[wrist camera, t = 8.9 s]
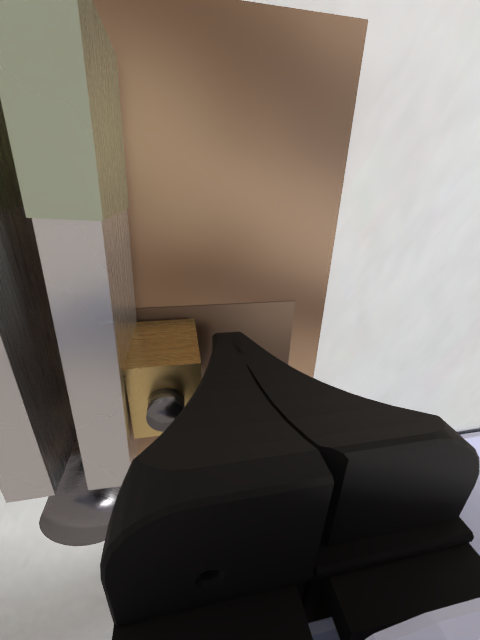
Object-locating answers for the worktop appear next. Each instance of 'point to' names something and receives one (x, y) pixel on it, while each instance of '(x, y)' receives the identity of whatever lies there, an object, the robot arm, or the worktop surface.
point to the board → (234, 163)
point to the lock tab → (161, 373)
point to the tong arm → (76, 209)
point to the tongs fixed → (37, 386)
